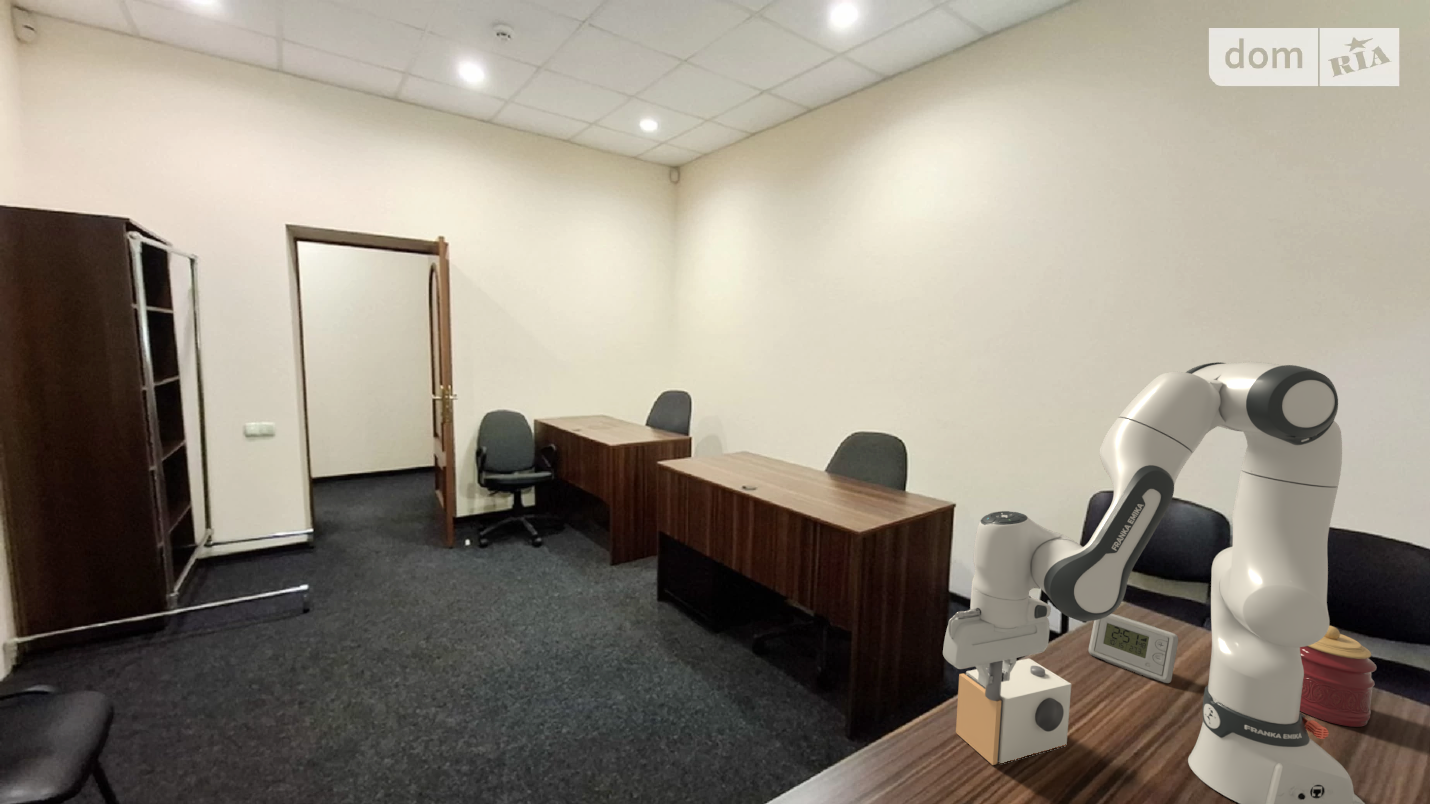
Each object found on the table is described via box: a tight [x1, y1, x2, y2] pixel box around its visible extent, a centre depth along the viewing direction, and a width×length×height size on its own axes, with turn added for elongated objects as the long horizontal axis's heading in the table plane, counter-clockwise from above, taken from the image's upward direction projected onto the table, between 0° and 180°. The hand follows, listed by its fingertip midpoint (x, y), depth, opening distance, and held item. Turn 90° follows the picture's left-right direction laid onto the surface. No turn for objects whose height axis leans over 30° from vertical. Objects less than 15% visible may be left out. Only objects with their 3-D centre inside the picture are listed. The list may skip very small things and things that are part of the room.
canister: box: [1300, 625, 1377, 728], centre depth 116 cm, size 13×13×18 cm
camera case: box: [965, 658, 1072, 764], centre depth 104 cm, size 16×10×13 cm, turn 109°
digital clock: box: [1088, 613, 1179, 684], centre depth 130 cm, size 16×9×11 cm, turn 27°
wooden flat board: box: [955, 661, 1003, 766], centre depth 101 cm, size 2×9×19 cm, turn 19°
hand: (993, 681), depth 98 cm, fingers closed on wooden flat board, 2 cm apart
